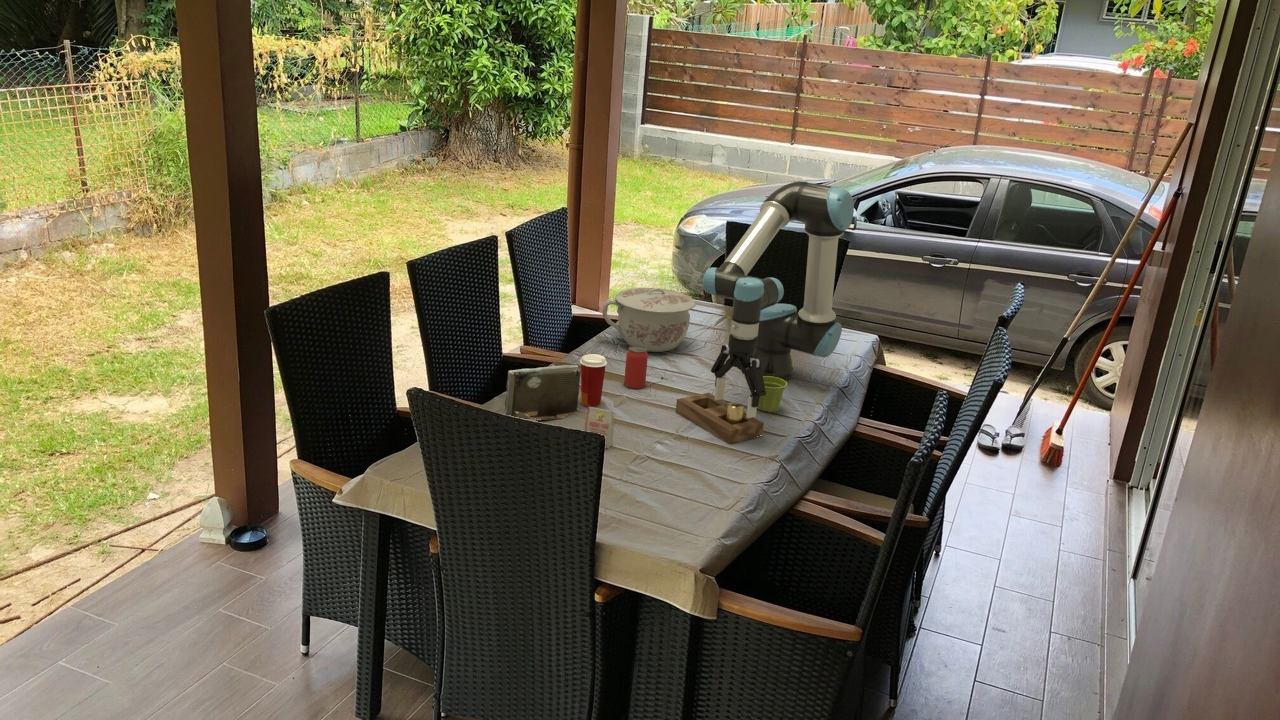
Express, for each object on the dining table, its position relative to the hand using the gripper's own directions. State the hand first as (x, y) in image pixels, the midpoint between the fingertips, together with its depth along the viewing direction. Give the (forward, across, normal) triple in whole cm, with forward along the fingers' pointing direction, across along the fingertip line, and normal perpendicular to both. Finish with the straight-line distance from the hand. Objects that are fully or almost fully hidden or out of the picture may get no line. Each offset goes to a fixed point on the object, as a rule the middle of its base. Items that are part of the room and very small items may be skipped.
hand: (734, 408), depth 268 cm
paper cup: (+7, -34, -25) cm, 43 cm away
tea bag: (+7, -10, -38) cm, 40 cm away
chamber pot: (+7, -68, +22) cm, 72 cm away
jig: (+7, -6, 0) cm, 9 cm away
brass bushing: (+7, 0, 0) cm, 7 cm away
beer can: (+7, -40, -5) cm, 41 cm away
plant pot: (+7, -8, +21) cm, 24 cm away
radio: (+7, -33, -42) cm, 54 cm away
